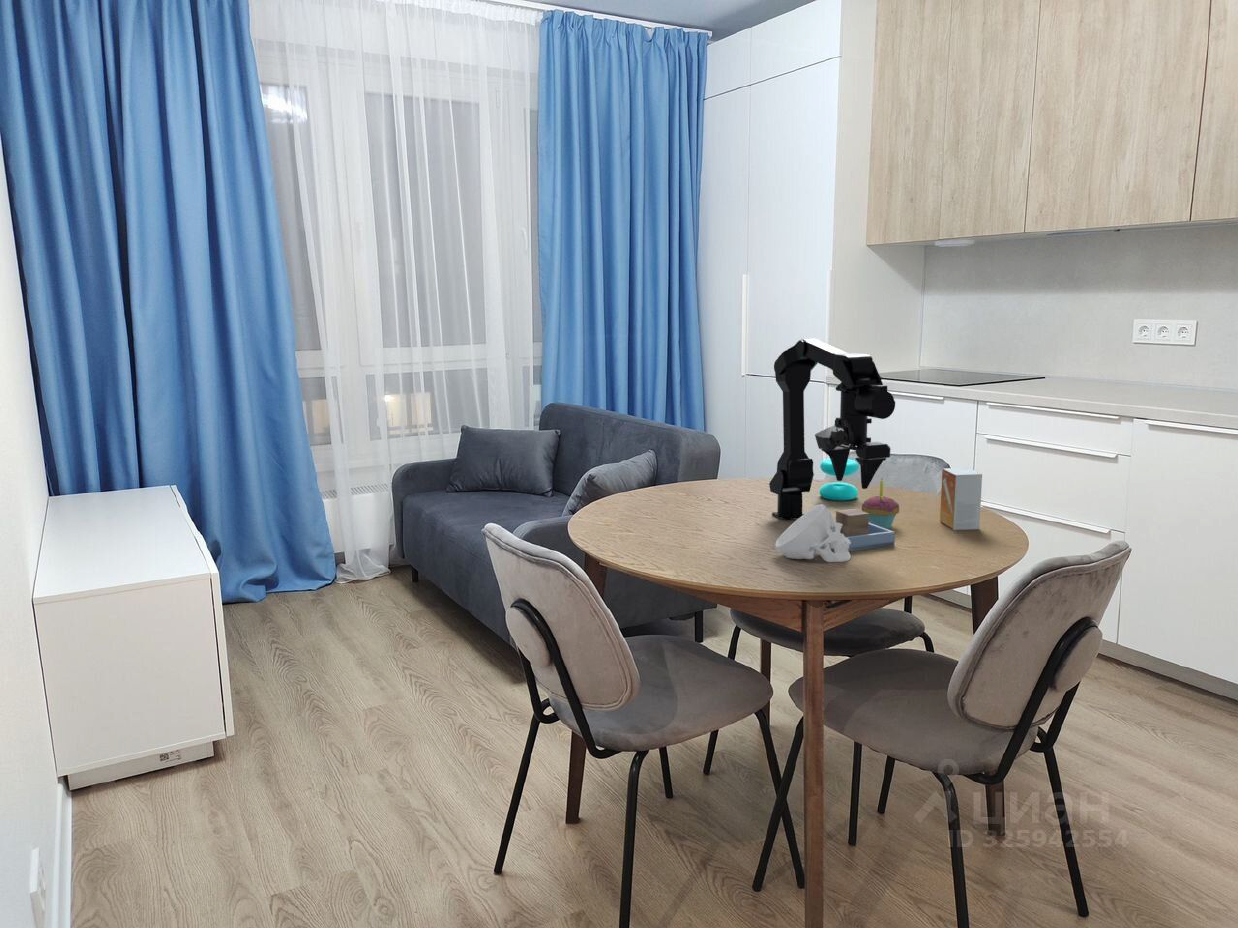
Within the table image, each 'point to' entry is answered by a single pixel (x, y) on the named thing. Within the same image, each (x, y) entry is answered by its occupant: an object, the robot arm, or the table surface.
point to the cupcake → (881, 509)
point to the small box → (961, 498)
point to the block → (853, 522)
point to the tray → (872, 538)
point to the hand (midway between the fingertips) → (851, 484)
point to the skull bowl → (815, 537)
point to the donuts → (839, 489)
